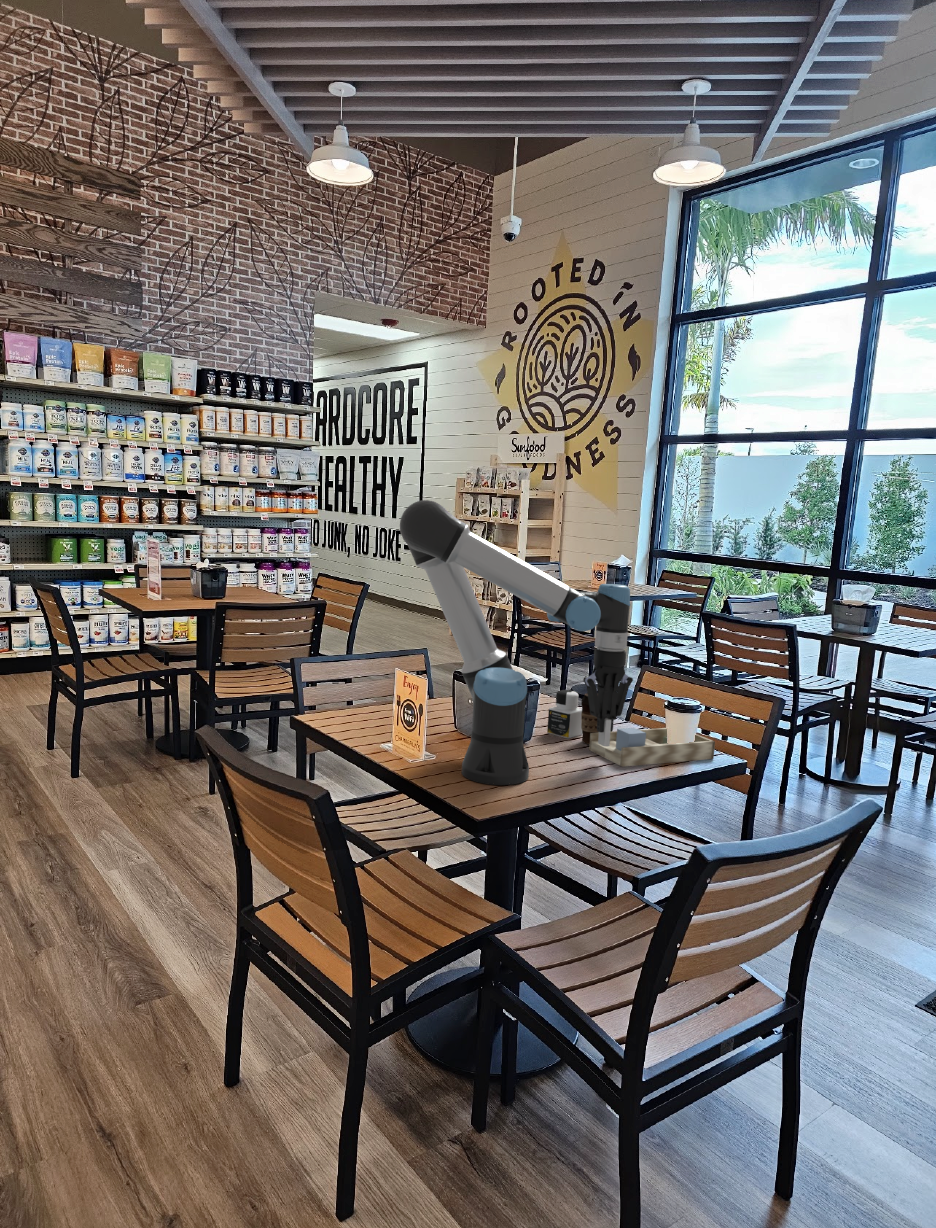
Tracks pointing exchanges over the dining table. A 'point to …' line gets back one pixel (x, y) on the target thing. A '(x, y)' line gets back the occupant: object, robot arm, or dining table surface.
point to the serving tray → (653, 749)
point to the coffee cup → (587, 720)
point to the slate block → (630, 738)
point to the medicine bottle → (565, 715)
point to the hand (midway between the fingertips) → (603, 744)
